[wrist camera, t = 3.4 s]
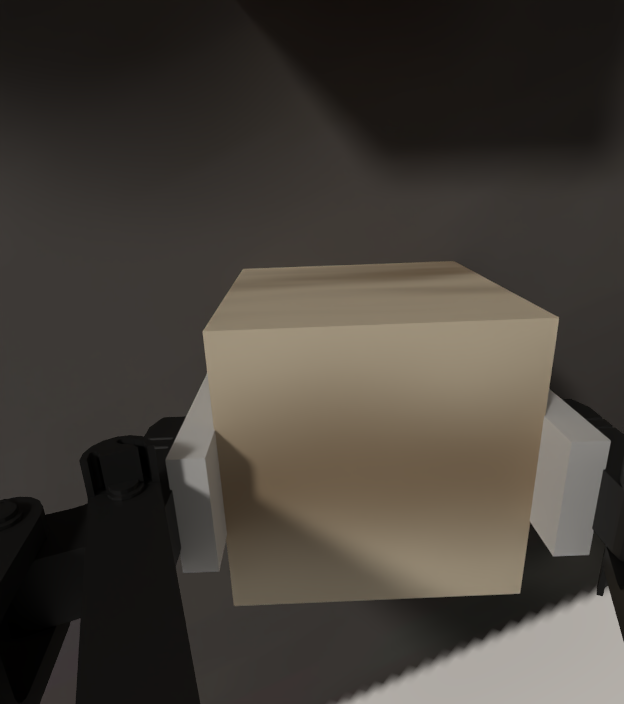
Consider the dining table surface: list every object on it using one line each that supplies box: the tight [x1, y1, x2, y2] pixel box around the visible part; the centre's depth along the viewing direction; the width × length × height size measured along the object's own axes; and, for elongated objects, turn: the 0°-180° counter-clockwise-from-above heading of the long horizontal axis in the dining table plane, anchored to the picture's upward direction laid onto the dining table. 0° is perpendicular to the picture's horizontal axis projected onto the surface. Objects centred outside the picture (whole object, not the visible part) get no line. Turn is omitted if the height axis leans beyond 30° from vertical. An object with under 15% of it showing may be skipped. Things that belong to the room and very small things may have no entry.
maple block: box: [203, 261, 559, 606], centre depth 14 cm, size 7×7×7 cm
